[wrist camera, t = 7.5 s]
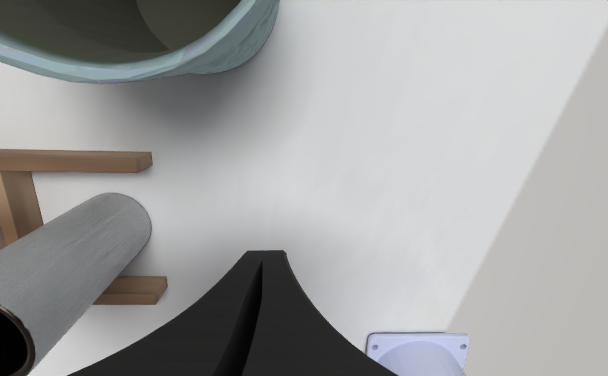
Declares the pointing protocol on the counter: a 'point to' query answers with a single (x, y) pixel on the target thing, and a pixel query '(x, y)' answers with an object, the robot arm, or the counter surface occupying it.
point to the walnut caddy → (26, 214)
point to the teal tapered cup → (131, 37)
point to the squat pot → (2, 239)
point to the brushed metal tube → (63, 274)
